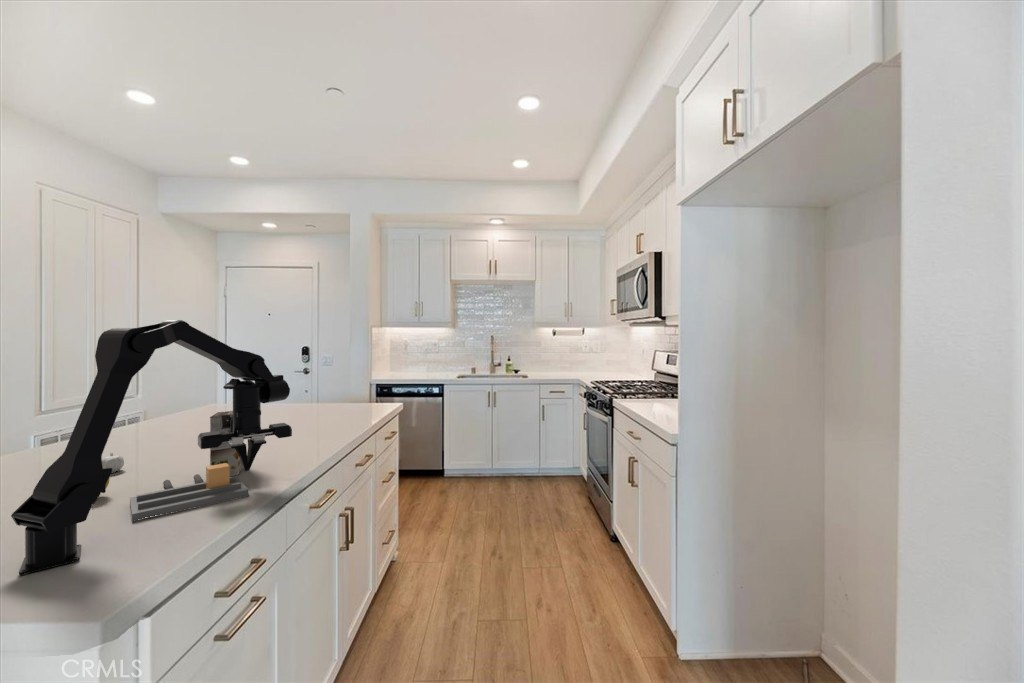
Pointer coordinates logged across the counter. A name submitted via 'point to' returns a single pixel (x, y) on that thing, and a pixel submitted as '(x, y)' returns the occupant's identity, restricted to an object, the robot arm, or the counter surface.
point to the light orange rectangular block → (217, 475)
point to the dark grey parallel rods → (168, 485)
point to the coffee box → (224, 447)
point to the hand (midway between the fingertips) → (246, 470)
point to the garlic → (113, 462)
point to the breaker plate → (184, 498)
